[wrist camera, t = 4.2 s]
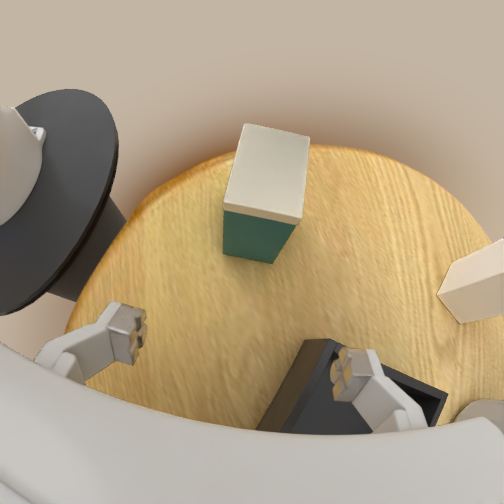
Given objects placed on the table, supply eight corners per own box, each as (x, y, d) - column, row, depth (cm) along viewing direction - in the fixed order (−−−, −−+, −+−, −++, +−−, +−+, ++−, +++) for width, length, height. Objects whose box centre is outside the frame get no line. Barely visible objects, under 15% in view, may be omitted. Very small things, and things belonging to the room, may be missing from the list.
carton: (222, 254, 28) (222, 202, 18) (236, 192, 30) (244, 122, 20) (272, 264, 28) (302, 218, 18) (282, 202, 30) (310, 137, 20)
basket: (233, 463, 22) (237, 494, 15) (304, 339, 26) (329, 338, 20) (350, 496, 21) (376, 522, 14) (411, 388, 25) (448, 393, 19)
